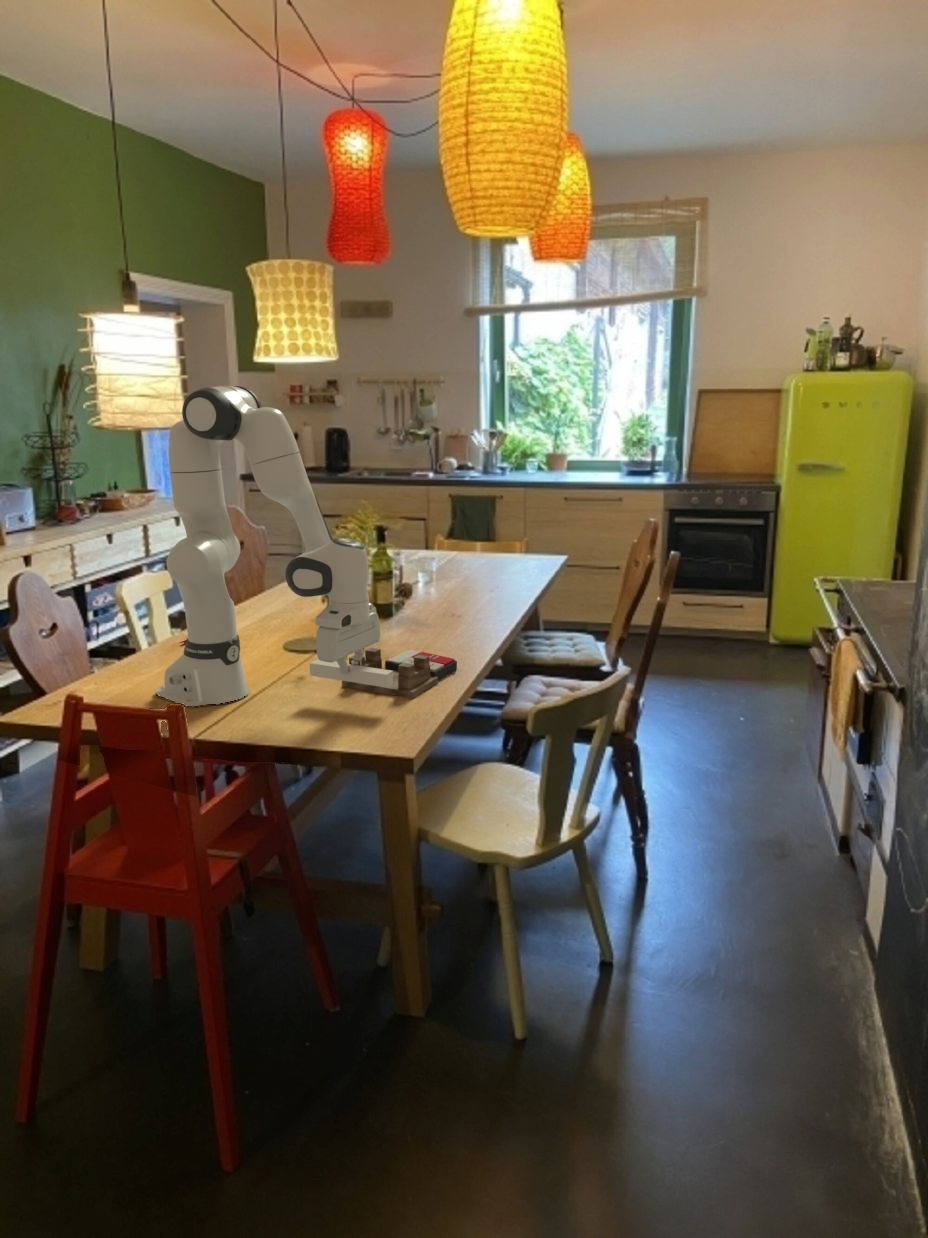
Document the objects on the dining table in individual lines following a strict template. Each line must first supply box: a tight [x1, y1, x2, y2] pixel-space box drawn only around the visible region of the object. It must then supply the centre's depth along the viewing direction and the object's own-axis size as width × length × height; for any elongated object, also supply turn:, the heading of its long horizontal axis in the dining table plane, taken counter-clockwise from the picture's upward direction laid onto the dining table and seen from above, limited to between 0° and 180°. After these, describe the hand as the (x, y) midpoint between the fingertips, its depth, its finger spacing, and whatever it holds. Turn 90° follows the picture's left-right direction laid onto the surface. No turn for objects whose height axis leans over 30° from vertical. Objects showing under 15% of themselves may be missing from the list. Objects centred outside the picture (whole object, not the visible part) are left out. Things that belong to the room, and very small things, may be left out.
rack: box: [341, 647, 439, 699], centre depth 214 cm, size 20×12×7 cm, turn 62°
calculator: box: [384, 649, 458, 682], centre depth 224 cm, size 11×4×15 cm
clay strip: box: [309, 659, 393, 687], centre depth 200 cm, size 20×3×3 cm, turn 66°
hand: (350, 670), depth 200 cm, fingers closed on clay strip, 3 cm apart
